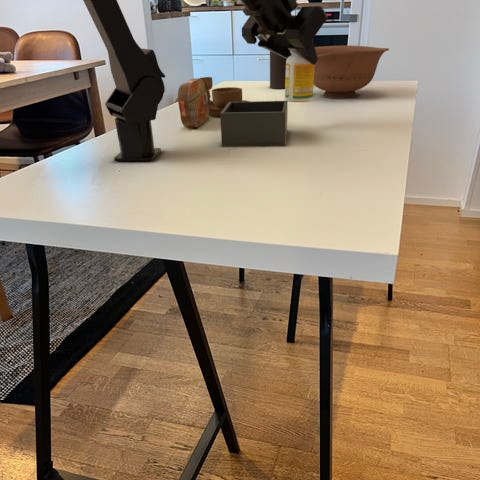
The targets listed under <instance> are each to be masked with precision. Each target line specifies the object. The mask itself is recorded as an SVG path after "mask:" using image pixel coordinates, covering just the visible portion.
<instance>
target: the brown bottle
mask: <svg viewBox="0 0 480 480" xmlns="http://www.w3.org/2000/svg"><path fill="white" fill-rule="evenodd" d="M286 34H287V31H286ZM286 60H287V59H286V58H284V57H282V56H280V55H278V54H275V53H273V52H271V51H269V87H270V89H274V90H285V78H286Z"/></svg>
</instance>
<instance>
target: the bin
mask: <svg viewBox="0 0 480 480" xmlns="http://www.w3.org/2000/svg"><path fill="white" fill-rule="evenodd" d="M288 103H289V102H288V101H286V100H255V101H253V100H252V101H250V102H229V103H228V104H227V105H226V106H225V108H224V109H223V110H222V112H221V113H220V116H219V119H220V136H221V137H220V138H221V147H285V146H286V142H287V136H288V109H289V107H288Z"/></svg>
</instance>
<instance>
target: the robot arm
mask: <svg viewBox="0 0 480 480" xmlns="http://www.w3.org/2000/svg"><path fill="white" fill-rule="evenodd" d="M82 1H83V4H84V5H85V7H86V9H87V11H88V13H89V16H90V18H91V19H92V21H93V24H94V26H95V28H96V30H97V32H98V34H99V36H100V38H101V40H102V42H103V44H104V47H105V48H106V51H107V55H108V61H109V68H110V72H111V76H112V79H113V82H114V86H115V88H114V89H113V91H112V92H111V94H110V95H109V97H108V98H107V100H106V101H105V104H104V105H105V107H106V109H107V111H108V113H109V115H110V116H111V117H115V118H114V122H115V128H116V135H117V140H118V146H119V153H118V154H117V155H115V156H114V157H113V161H114V162H150V161H154V159H155V158H156V157H157V156H158V155H159V154H160V153H161V152H162V148H161V147H155V142H154V136H153V126H152V121H154V120H155V121H156V119H157V113H158V109H159V104H161V102H162V100H163V97H164V94H165V92H166V89H165V88H166V87H165V83H164V80H163V79H165V78H166V75H165V73H164V72H163V71H162V70H161V68H160V66H159V62H158V59H157V55H156V53H155V51H154V49H149V48H141V46H140V45H139V44H138V43H137V42H136V40H135V38H134V36H133V34H132V31H131V29H130V27H129V24H128V22H127V20H126V17H125V16H124V13H123V11H122V9H121V7H120V4H119V2H118V0H82ZM239 1H240V2H241V3H242V5H243V6H244V8H243V10H242V13H243V14H244V15H245V16H246V17H248V18H247V20H246V21H245V22H244V24H243V25H242V26H241V37H242V38H243V40H244V41H245V42H246V43H247V44H249V45H256V44H257V46H258V47H259V48H262V49H265V50H266V51H269V52H270V51H271V52H273V53H275V54H278V55H280V56H282V57H284V58H286V59H287V58H288V57H289V56H291V53H290V50H291V51H292V52H294V53H295V54H297V55H298V56H300V57H301V58H303V59H305V60H306V61H308V62H309V63H311V64H313V65H315V64H316V62H317V61H318V58H317V54H316V50H315V47H316V46H315V42H314V38H315V37H316V35H317V34H318V33H319V31H320V29H321V28H322V27H323V25H324V24H325V23H326V21H327V20H328V14H327V13H326V11H325V10H324V8H323V6H322V5H311V6H302V7H300V10H299V11H298V12H297V14H296V15H295V14H292V12H295V10H296V9H297V8H298V6H299V4H298V2H297V1H298V0H239ZM286 31H287V34H286ZM258 40H259V41H258ZM257 42H258V43H257Z"/></svg>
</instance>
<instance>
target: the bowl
mask: <svg viewBox="0 0 480 480" xmlns="http://www.w3.org/2000/svg"><path fill="white" fill-rule="evenodd" d="M315 50H316V54H317V58H318V61H317V62H316V64H315V69H314V85H313V86H314V87H316V88H318V89H319V90H321V91H324V93H322V97H323V98H327V99H350V98H355V97H358V93H357V92H356V91H358V90H361V89H363V88H365V87H366V86H368V85H369V84H370V83H371V82H372V80H373V79H374V76H375V74H376V72H377V67H378V65H379V63H380V62H379V61H380V59H381V57H382V56H383V54H384V53H385V52H388V51H390V48H388V47H375V46H374V47H373V46H366V45H352V44H351V45H327V46H315Z"/></svg>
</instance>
